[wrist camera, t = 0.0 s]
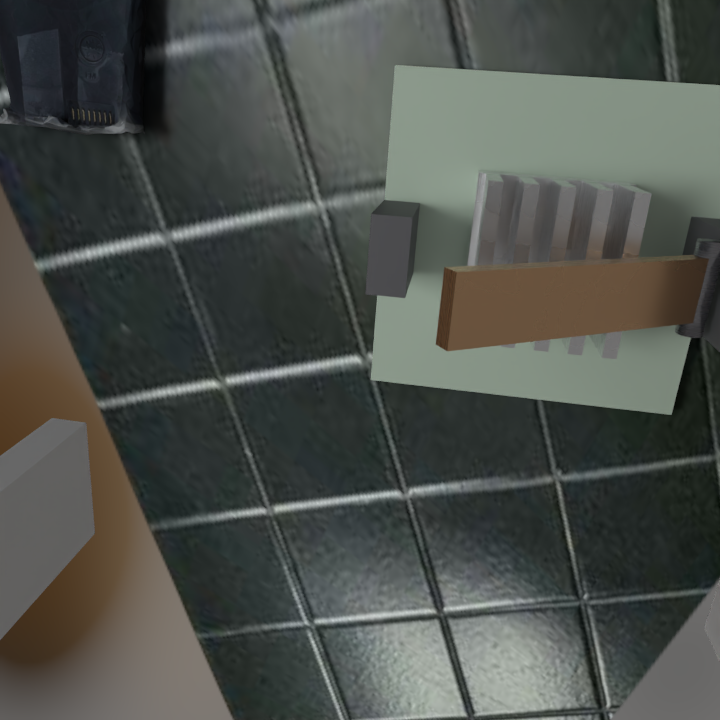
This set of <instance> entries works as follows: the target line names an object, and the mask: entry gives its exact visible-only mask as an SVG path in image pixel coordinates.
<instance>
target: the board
mask: <svg viewBox="0 0 720 720" xmlns="http://www.w3.org/2000/svg"><path fill="white" fill-rule="evenodd" d="M478 170H480V171H492V172H505V173H517V174H530V175H543V176H555V177H568V178H581V179H593V180H606V181H619V182H630V183H633V184H635V185H637V188H639V189H642V190H644V191H647V192H649V193H652V195H651V199H650V204H649V209H648V214H647V218H646V223H645V228H644V232H643V237H642V242H641V246H640V251H639V256H638V258H640V257H660V256H681V255H693V254H694V250H695V246H696V242H697V239H699V238H704V239H714V240H720V85H707V84H691V83H675V82H659V81H643V80H627V79H611V78H595V77H579V76H563V75H547V74H530V73H514V72H498V71H482V70H466V69H450V68H434V67H418V66H402V65H395V73H394V86H393V99H392V112H391V125H390V138H389V151H388V164H387V177H386V190H385V200H384V201H383V202H382V203H381V204H380V205H379V206H378V207H377V208H376V210H375V211H374V212H373V213H372V214H371V224H370V239H369V253H368V267H367V281H366V294H368V295H377V306H376V319H375V332H374V345H373V358H372V371H371V380H376V381H385V382H393V383H402V384H411V385H419V386H428V387H436V388H445V389H454V390H462V391H471V392H479V393H488V394H497V395H505V396H514V397H522V398H531V399H540V400H548V401H557V402H565V403H574V404H583V405H591V406H600V407H608V408H617V409H626V410H634V411H643V412H651V413H660V414H669V415H672V411H673V407H674V403H675V399H676V395H677V391H678V387H679V383H680V379H681V375H682V371H683V367H684V363H685V359H686V355H687V351H688V347H689V343H690V339H691V338H690V337H685V336H681V335H678V334H676V333H675V328H676V325H672V326H663V327H654V328H646V329H637V330H628V331H622V335H621V340H620V345H619V349H618V354H617V359H609V358H602V357H601V356H600V354H599V352H598V350H597V349H596V347H595V345H594V343H593V342H592V340H591V338H590V336H589V335H586V338H585V343H584V348H583V353H582V356H581V355H572V354H567V351H566V349H565V347H564V345H563V342H562V340H561V338H559V339H550V344H549V350H548V352H544V351H535V350H534V349H533V346H532V343H531V342H524V343H516V344H515V348H507V347H500V345H499V346H490V347H481V348H473V349H464V350H455V351H446V350H444V349H442V348H441V347H439V346H437V345H436V337H437V328H438V319H439V310H440V301H441V292H442V283H443V274H444V267H455V266H467V258H468V250H469V242H470V234H471V226H472V218H473V210H474V202H475V193H476V185H477V177H478ZM703 337H704V338H705V339H706V340H707V341H708V342H709V343H710V344H712V345H713V346H714V347H715V348H716V349H717V350H718V351H719V352H720V270H719V274H718V278H717V282H716V286H715V290H714V294H713V297H712V301H711V305H710V309H709V313H708V317H707V321H706V325H705V328H704V332H703Z"/></svg>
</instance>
